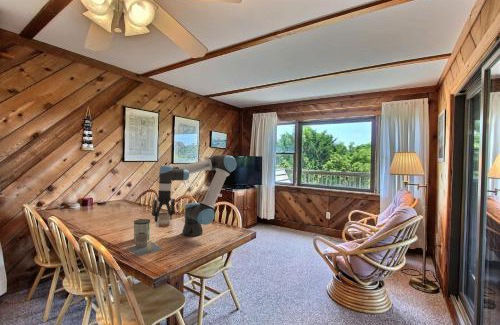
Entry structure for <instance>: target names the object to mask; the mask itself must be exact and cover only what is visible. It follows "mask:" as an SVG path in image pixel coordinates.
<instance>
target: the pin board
mask: <svg viewBox="0 0 500 325" xmlns="http://www.w3.org/2000/svg"><path fill="white" fill-rule="evenodd" d="M126 249H127V250H128V251H130V253H132V254H133V255H135V256H136V257H140V256H145V255H149V254H150V255H151V254H154V253H157V252H162V251H165V249H164V248H162V247H161V246H159V245H158V244H156V243H154V242H153V241H151V240H148V241H147V247H144V248H136V247H135V245H132V246H129V247H126Z"/></svg>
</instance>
